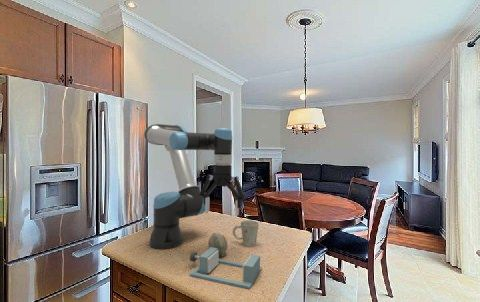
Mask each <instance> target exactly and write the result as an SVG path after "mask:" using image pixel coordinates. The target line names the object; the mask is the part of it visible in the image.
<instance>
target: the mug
mask: <svg viewBox="0 0 480 302" xmlns="http://www.w3.org/2000/svg"><path fill="white" fill-rule="evenodd" d="M259 224H260V223H259V222H258V221H256V220H243V221H240V225H239V224H238V225H235V226H234V227H233V229H232V235H233V237H234V238H236V239H237V240H242V244H243V246H246V247H254V246H256V245H257V238H258V231H259ZM237 229H241V235H242V237H239V236H237V234H236V230H237Z"/></svg>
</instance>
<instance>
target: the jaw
mask: <svg viewBox="0 0 480 302" xmlns="http://www.w3.org/2000/svg"><path fill="white" fill-rule="evenodd" d="M219 257H220V256H219V251H218V248H212V247H210V248H208V249H207V250H205V251H204V252H203V253H201V255H198V252H197V251H195V250H193V251H191V253H190V255H189V261H190V262H192V263H195V262H196V261H197V260H198V261H199V262H198V266H199V272H198V273H201V274H205V275H208V274H210V273H211V272H212V271H213V270H214V269H215V268H216V267H217V265H219V264H220V263H219V259H220V258H219Z"/></svg>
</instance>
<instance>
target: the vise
mask: <svg viewBox="0 0 480 302" xmlns="http://www.w3.org/2000/svg"><path fill="white" fill-rule="evenodd" d="M219 264H223V265H227V266H232V267H239V268H242V281H239V280H235V279H229V278H225V277H218V276H215V275H210V274H204V273H199V265H198V266H197V267H196V268H194V269H193V270H192V271H191V272H190V273H189V277H193V278H197V279H202V280H206V281H210V282H215V283H219V284H224V285H227V286H232V287H237V288H242V289H247V290H251V288H252V286H254V285H253V284H254V283H255V281H256V280H257V278H258V277H259V275H260V273H261V271H262V270H263V267H262V266H261V255H256V254H251V255H250V256H248V258H247V259H246V261H245V262H244V263H242V262H238V261H231V260H226V259H221V258H219Z"/></svg>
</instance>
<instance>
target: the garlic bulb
mask: <svg viewBox="0 0 480 302" xmlns="http://www.w3.org/2000/svg"><path fill="white" fill-rule="evenodd" d="M207 243H208V247H209V248H210V247H212V248H218V251H219V257H224V256H225V255H226V256H227V251H228V241H227V239H226V237H225V236H224V234H222V233H217V232H213V233H212V235H211V236H210V237H209V238H208V242H207ZM209 248H208V249H209Z"/></svg>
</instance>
